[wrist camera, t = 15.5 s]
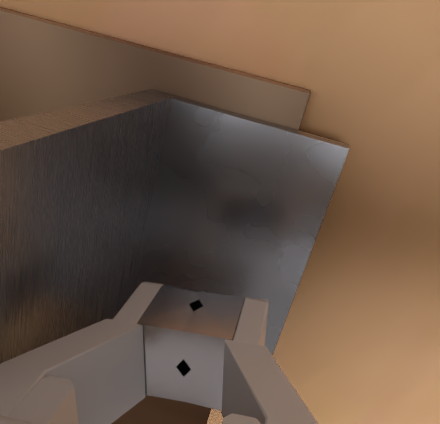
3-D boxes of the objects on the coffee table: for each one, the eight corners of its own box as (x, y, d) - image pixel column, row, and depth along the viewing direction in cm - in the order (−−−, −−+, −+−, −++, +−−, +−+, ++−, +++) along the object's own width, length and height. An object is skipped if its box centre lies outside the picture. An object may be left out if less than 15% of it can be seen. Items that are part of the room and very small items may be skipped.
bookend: (116, 307, 15) (-73, 545, 8) (151, 89, 12) (-117, 147, 5) (267, 360, 14) (214, 674, 7) (347, 144, 11) (399, 315, 4)
